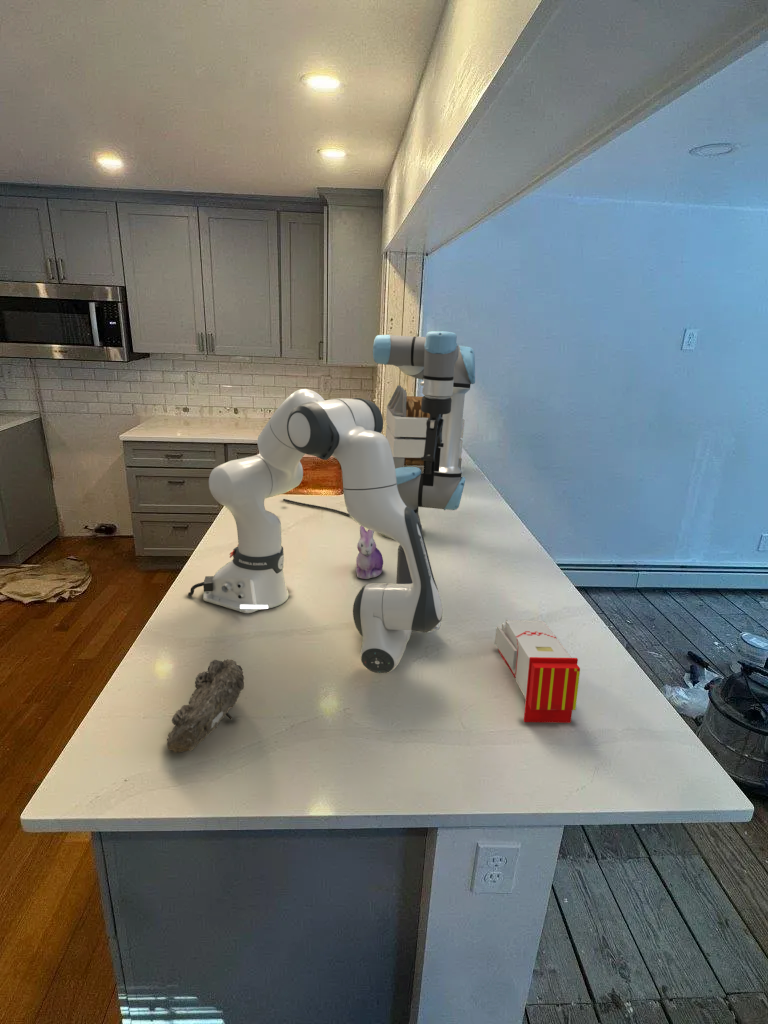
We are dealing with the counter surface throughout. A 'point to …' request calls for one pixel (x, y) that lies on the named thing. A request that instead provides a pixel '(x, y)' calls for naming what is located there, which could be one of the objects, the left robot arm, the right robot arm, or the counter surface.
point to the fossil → (206, 705)
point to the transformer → (408, 429)
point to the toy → (540, 670)
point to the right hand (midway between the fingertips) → (430, 478)
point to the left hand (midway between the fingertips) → (406, 596)
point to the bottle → (402, 568)
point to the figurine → (368, 556)
